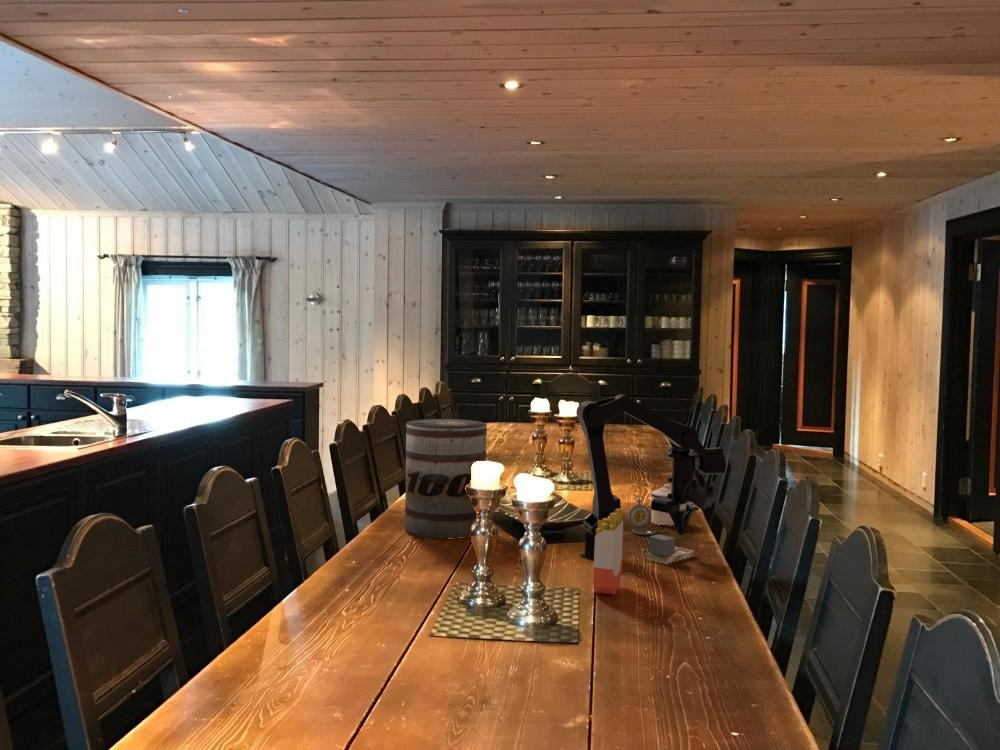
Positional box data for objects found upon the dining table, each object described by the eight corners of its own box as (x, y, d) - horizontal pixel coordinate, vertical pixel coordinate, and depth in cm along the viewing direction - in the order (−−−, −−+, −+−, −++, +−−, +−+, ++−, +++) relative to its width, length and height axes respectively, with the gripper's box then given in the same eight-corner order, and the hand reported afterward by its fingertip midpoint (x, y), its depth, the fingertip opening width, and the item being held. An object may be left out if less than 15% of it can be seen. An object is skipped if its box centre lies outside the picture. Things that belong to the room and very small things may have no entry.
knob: (664, 556, 218) (665, 540, 217) (648, 552, 221) (649, 536, 221) (674, 553, 220) (675, 538, 220) (658, 549, 224) (659, 534, 224)
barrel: (423, 542, 234) (425, 430, 232) (392, 524, 253) (394, 420, 252) (498, 534, 244) (500, 426, 242) (463, 517, 264) (465, 418, 262)
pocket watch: (649, 537, 244) (650, 501, 244) (622, 532, 250) (623, 497, 249) (662, 532, 251) (664, 497, 250) (636, 527, 256) (637, 493, 255)
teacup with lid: (682, 527, 257) (683, 488, 256) (650, 525, 258) (651, 486, 258) (680, 518, 269) (682, 480, 268) (650, 516, 270) (651, 479, 270)
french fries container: (591, 596, 191) (593, 514, 190) (601, 582, 201) (603, 504, 200) (612, 598, 190) (614, 516, 188) (621, 584, 200) (623, 506, 199)
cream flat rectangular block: (664, 564, 217) (665, 558, 217) (645, 559, 222) (645, 553, 221) (694, 556, 225) (694, 550, 225) (675, 551, 229) (675, 545, 229)
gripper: (686, 483, 212) (684, 547, 213) (731, 475, 225) (729, 535, 226) (650, 476, 221) (648, 538, 222) (695, 469, 233) (693, 527, 234)
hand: (681, 534), depth 226 cm, fingers closed
